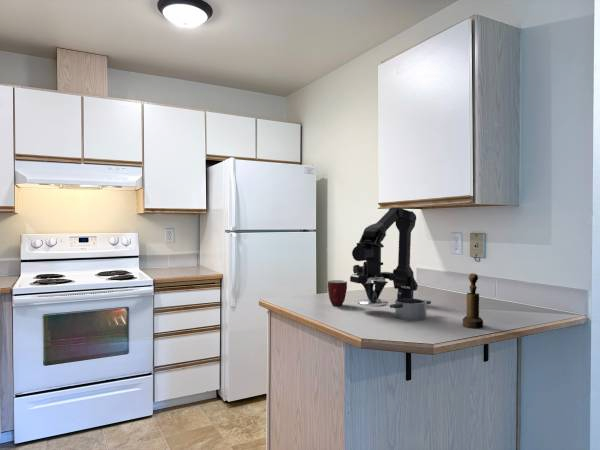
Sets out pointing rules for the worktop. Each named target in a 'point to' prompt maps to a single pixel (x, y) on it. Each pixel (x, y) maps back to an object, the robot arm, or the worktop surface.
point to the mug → (337, 291)
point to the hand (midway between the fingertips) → (373, 299)
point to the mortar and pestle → (473, 306)
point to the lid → (373, 301)
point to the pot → (410, 309)
